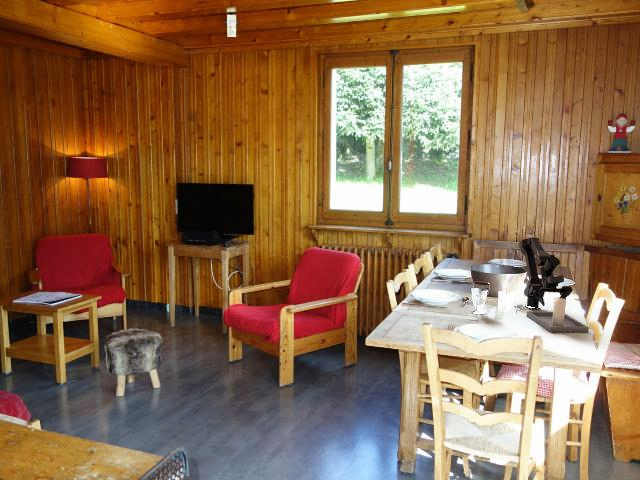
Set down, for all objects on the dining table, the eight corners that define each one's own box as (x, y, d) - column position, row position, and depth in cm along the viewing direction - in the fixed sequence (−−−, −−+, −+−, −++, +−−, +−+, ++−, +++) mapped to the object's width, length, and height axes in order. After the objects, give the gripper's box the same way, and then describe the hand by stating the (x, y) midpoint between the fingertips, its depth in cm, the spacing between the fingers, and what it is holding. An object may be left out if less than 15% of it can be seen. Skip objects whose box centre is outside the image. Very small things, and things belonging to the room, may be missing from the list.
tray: (526, 316, 278) (526, 311, 278) (561, 316, 280) (562, 311, 279) (549, 332, 255) (550, 327, 254) (588, 332, 256) (588, 327, 256)
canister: (549, 325, 262) (551, 298, 260) (556, 324, 264) (559, 297, 262) (558, 328, 258) (561, 301, 255) (565, 327, 260) (568, 299, 258)
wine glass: (486, 316, 276) (489, 285, 274) (469, 313, 279) (472, 283, 276) (488, 311, 283) (490, 282, 281) (471, 309, 286) (474, 280, 284)
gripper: (533, 267, 268) (539, 296, 259) (573, 269, 268) (580, 298, 259) (526, 280, 277) (531, 308, 268) (564, 281, 277) (571, 310, 268)
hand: (553, 306), depth 266 cm, fingers open, 9 cm apart
